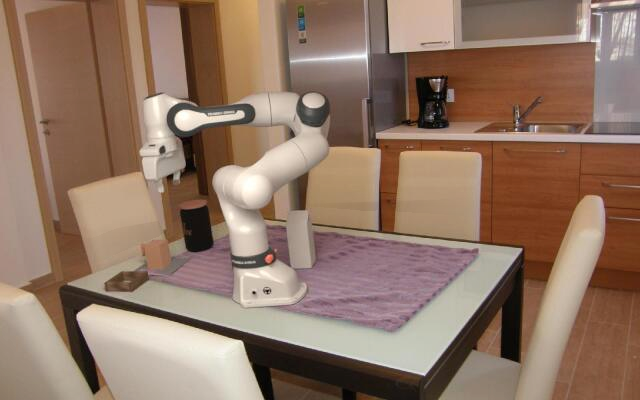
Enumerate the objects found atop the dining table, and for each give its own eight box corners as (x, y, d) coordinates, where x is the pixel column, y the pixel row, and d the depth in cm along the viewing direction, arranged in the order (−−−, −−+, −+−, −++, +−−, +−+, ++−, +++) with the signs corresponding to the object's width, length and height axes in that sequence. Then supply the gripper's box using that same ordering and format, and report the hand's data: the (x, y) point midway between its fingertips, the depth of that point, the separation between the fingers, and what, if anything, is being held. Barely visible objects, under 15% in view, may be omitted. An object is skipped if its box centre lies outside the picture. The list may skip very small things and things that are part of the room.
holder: (149, 279, 196) (147, 271, 195) (132, 291, 186) (131, 283, 185) (123, 279, 198) (121, 271, 197) (106, 291, 189) (104, 283, 188)
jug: (171, 263, 208) (167, 239, 206) (163, 269, 203) (158, 245, 200) (149, 263, 211) (145, 239, 208) (140, 269, 205) (136, 245, 203)
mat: (190, 259, 212) (190, 258, 212) (169, 276, 197) (169, 275, 197) (152, 259, 216) (151, 258, 216) (128, 276, 201) (127, 274, 201)
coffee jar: (185, 246, 227) (177, 202, 222) (212, 241, 230) (205, 197, 225) (187, 254, 217) (179, 208, 212) (215, 249, 220) (208, 203, 215)
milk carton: (311, 268, 190) (305, 213, 185) (290, 269, 192) (284, 214, 187) (316, 260, 197) (310, 207, 192) (296, 261, 198) (289, 208, 194)
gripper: (169, 140, 192) (176, 181, 196) (136, 152, 173) (144, 196, 177) (186, 139, 191) (193, 180, 194) (154, 151, 172) (162, 196, 175)
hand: (169, 188), depth 185 cm, fingers open, 8 cm apart
